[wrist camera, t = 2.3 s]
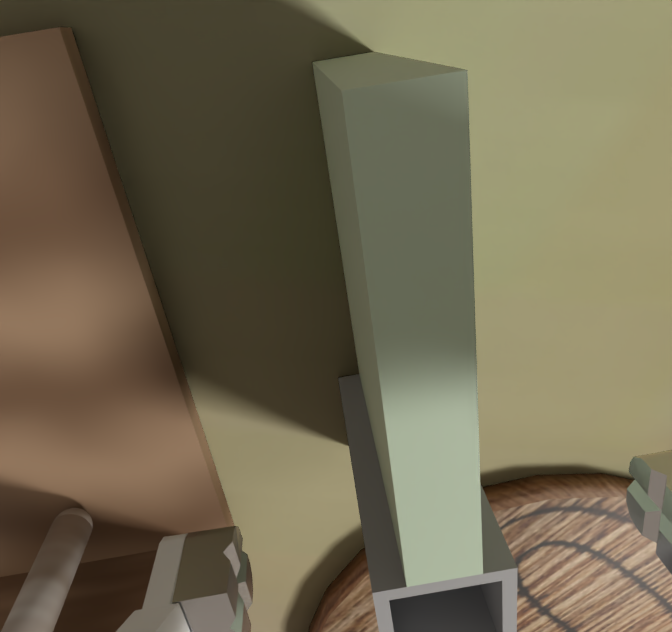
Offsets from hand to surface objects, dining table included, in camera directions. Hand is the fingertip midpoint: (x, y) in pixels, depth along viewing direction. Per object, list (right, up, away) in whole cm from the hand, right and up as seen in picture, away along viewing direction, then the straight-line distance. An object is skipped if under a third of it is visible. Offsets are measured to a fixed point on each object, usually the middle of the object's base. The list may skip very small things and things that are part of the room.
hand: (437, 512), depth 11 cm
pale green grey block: (-1, +5, +10) cm, 11 cm away
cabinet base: (-14, +2, +10) cm, 18 cm away
